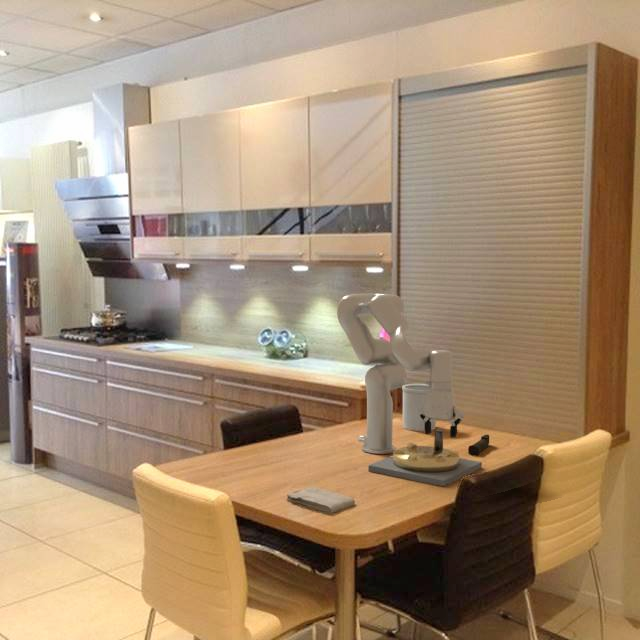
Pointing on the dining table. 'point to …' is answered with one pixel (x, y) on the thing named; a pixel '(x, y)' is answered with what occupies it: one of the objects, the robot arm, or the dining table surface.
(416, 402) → the utensil holder
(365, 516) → the dining table surface
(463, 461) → the base plate
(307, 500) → the washcloth
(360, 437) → the robot arm
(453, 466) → the beige piece
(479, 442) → the hand tool
